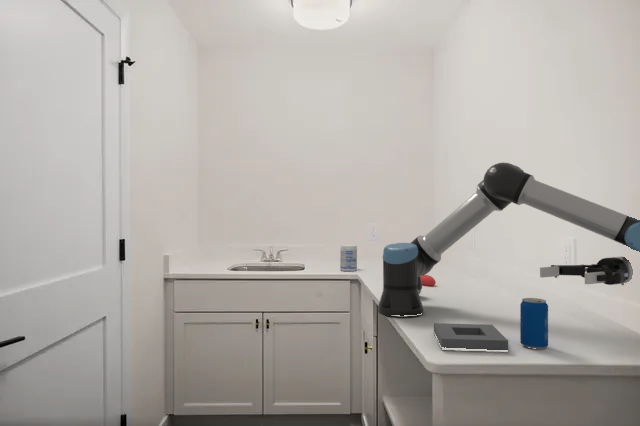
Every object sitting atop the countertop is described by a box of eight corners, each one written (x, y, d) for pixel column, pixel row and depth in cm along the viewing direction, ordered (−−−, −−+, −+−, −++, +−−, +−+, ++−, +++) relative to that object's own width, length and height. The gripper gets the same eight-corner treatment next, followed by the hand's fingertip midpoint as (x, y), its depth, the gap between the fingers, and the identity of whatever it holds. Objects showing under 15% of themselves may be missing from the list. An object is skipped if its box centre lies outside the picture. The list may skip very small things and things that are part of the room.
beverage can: (541, 352, 115) (541, 303, 115) (515, 346, 120) (515, 299, 120) (552, 347, 119) (552, 300, 119) (527, 341, 124) (527, 296, 124)
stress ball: (423, 290, 212) (430, 278, 211) (414, 280, 220) (420, 268, 219) (431, 293, 214) (438, 281, 213) (422, 283, 222) (429, 272, 221)
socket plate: (433, 333, 132) (433, 323, 132) (492, 335, 130) (492, 324, 130) (441, 350, 116) (441, 338, 116) (508, 352, 114) (508, 340, 114)
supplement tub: (347, 272, 262) (347, 246, 262) (337, 270, 270) (336, 245, 270) (360, 270, 268) (360, 245, 268) (349, 269, 276) (349, 244, 276)
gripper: (663, 290, 120) (608, 297, 112) (576, 278, 143) (524, 283, 135) (663, 261, 120) (607, 266, 112) (576, 253, 143) (524, 257, 134)
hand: (562, 275), depth 123 cm, fingers open, 13 cm apart
